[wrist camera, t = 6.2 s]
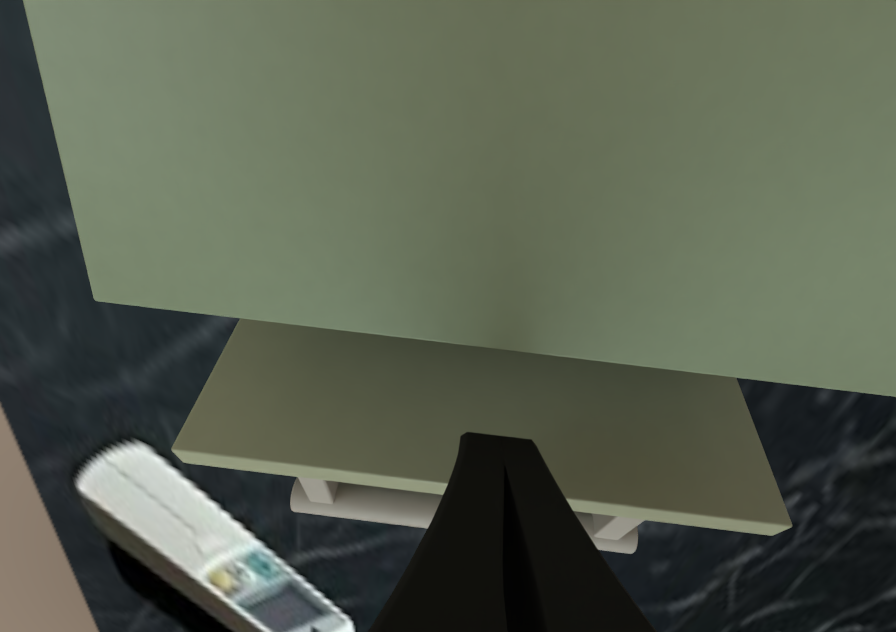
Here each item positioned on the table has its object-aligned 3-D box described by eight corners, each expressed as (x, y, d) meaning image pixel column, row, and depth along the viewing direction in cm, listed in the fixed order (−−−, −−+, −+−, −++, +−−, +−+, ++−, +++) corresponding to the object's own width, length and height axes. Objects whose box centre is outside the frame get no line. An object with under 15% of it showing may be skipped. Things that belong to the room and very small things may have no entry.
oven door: (636, 355, 20) (684, 575, 14) (314, 317, 20) (236, 518, 15) (695, 268, 16) (794, 527, 10) (290, 221, 16) (169, 450, 10)
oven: (694, 253, 16) (936, 402, 8) (293, 207, 17) (92, 301, 8) (845, -192, 12) (1939, -1117, 3) (275, -251, 12) (-288, -1283, 3)
